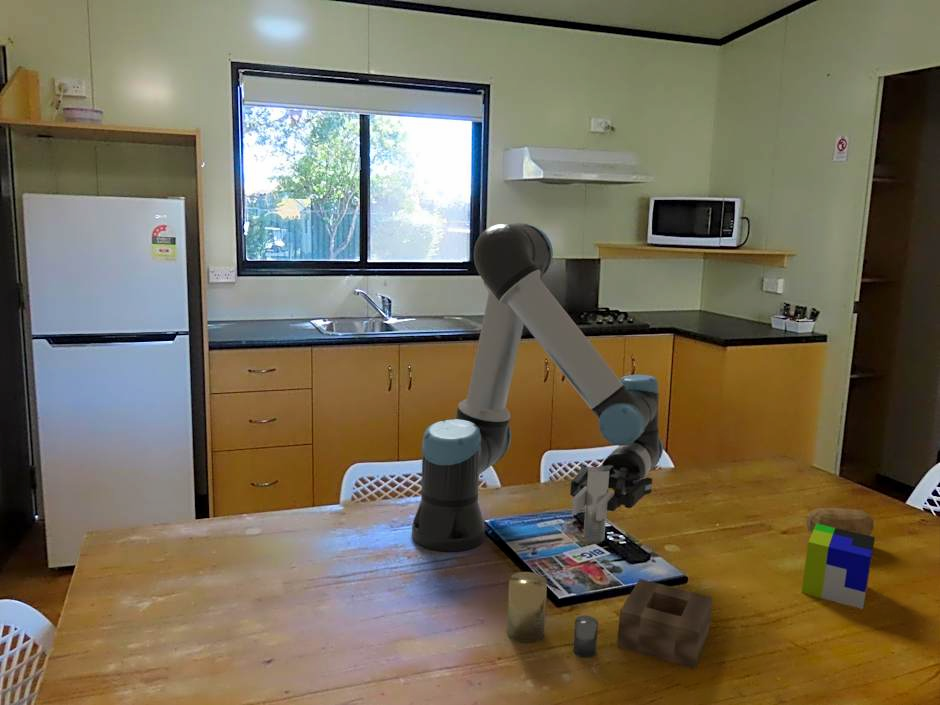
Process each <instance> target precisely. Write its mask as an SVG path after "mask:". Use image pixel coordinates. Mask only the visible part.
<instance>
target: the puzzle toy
mask: <svg viewBox="0 0 940 705" xmlns="http://www.w3.org/2000/svg"><path fill="white" fill-rule="evenodd" d="M875 539H876V538H875V536H871V535H869V536H868V535H863V534H859V533H855V532H850V531H846V530H842V529H837V528H833V527H829V526H824V525H820V524H816V525H815V527H814V530H813V532H812V534H810V536H809V539H808V543H807V549H806V558H805V565H804V571H803V572H804V573H803V580H802V587H801V593H802V594H805V593H806V595H809V596H812V595H813V597H817V598H819V599H823V600H827V601H830V600H831V602H834V601H835V602H834V603H837V604H841V605H842V604H843V605H845V604H846V606H848V605H850V606H849V607H852V606H853V608H856V607H857V609H859V608H860V610H863V609H864V605H865V601H866V600H865V599H866V595H867V592H868V591H867V589H868V585H869V578H870V572H871V565H872V559H873V551H874V546H875Z"/></svg>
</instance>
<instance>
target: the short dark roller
mask: <svg viewBox="0 0 940 705" xmlns="http://www.w3.org/2000/svg"><path fill="white" fill-rule="evenodd" d="M598 629H599V621H598V620H597V619H596V618H595V617H593V616H591V615H579V616H577V617H575V620H574V629H573V630H574V632H573V647H572V648H573V649H572V651H573V653H574V655H576V656H578V657H580V658H584V659H587V658H589V659H591V658H593V657H594V656H596V654H597V645H598V644H597V643H598V642H597V641H598Z"/></svg>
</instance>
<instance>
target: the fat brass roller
mask: <svg viewBox="0 0 940 705" xmlns="http://www.w3.org/2000/svg"><path fill="white" fill-rule="evenodd" d="M547 586H548V581H547V579H546V578H545V577H544V576H543V575H541V574H538V573H537V572H530V571H521V572H515V573H514V574H512V575H510V576H509V579H508V593H507V594H508V596H507V597H508V598H507V615H506V616H507V617H506V634H507V636H508V637H509V639H511V640H513V641H515V642H517V643H522V644H533V643H534V644H535V643H537V642H540V641H541V640H543V638H544V636H545V624H546V623H545V621H546V605H547V590H548V589H547Z"/></svg>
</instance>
